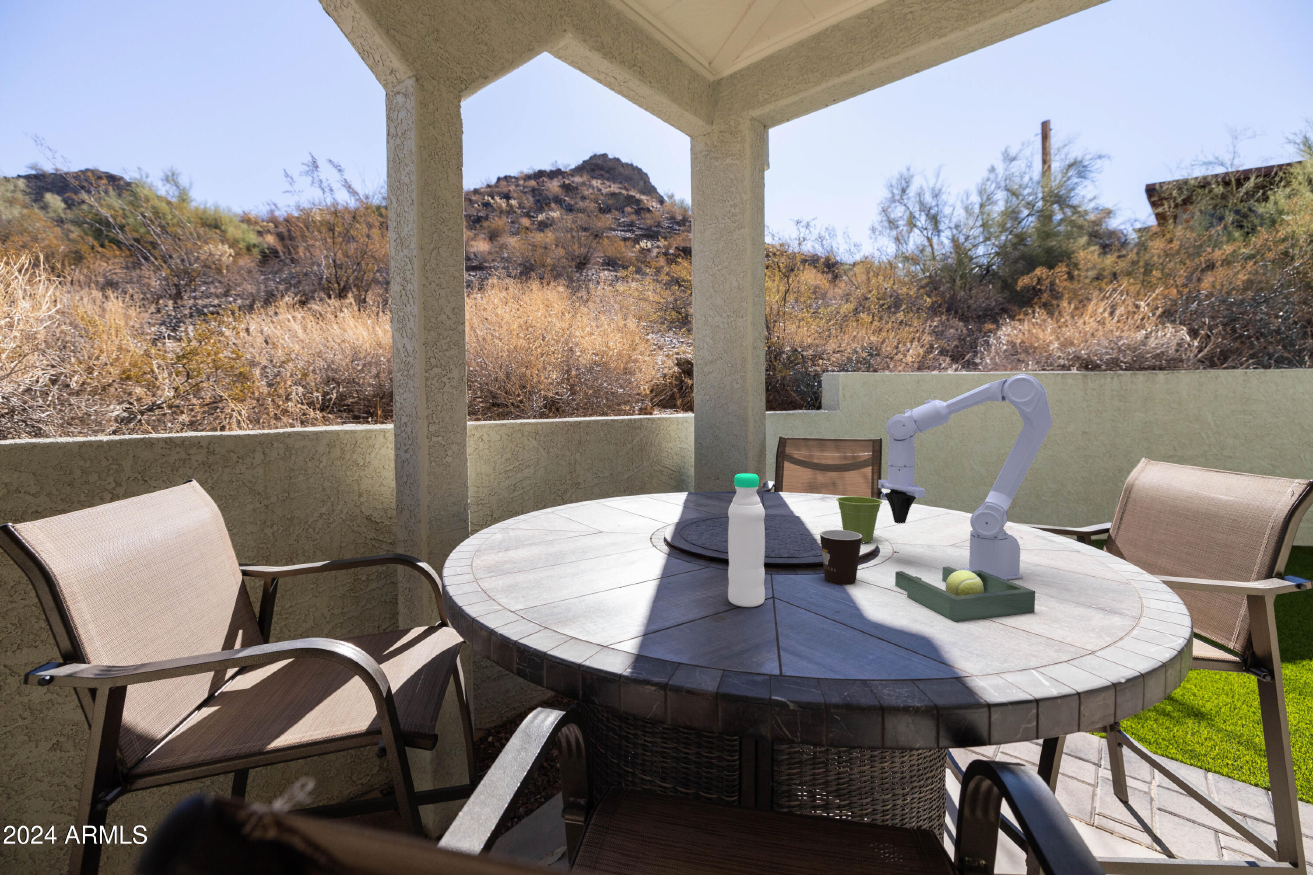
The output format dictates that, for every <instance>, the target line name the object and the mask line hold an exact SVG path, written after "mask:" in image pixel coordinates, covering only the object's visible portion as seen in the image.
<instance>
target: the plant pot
mask: <svg viewBox="0 0 1313 875" xmlns="http://www.w3.org/2000/svg"><path fill="white" fill-rule="evenodd" d="M836 501H837V503H838V509H839V510H840V518H841V526H842V530H846V531H852V532H856V533H859V534H861V535H862V540H861V543H862V544H864V543H863V542H866V543H868V542H870V543H872V542H873V538H874V533H875V528H876V524H877V520H878V519H877V518H878V515H879V512H880V508H881V504H883V500H881V499H880V498H879V499H878V498H874V497H870V496H869V497H866V496H852V495H851V496H850V495H849V496H840V497H836ZM871 541H872V542H871Z"/></svg>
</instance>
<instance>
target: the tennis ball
mask: <svg viewBox="0 0 1313 875" xmlns="http://www.w3.org/2000/svg"><path fill="white" fill-rule="evenodd" d="M958 570H959V571H956V572H954V573H952V574H951V575H950V576H949V577H948V579H947V581H946V582H945V588H944V590H945V591H947V592H949V593H951V594H953V595H956V596H963V595H972V594H981V593H984V586H983V583H982V581H981V579H980V578H979V577H978V576H977V575H976V574H974V573H972V572H970V571H967V570H960V569H958Z"/></svg>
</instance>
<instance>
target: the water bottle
mask: <svg viewBox="0 0 1313 875" xmlns="http://www.w3.org/2000/svg"><path fill="white" fill-rule="evenodd" d="M733 485H734V488H735V490H736V491H735V492H736V493H735V494H734V497H733V498H732V502H731V503H730V505H729V507H728V511H727V512H728V513H727V515H728V528H727V530H728V533H727V548H728V549H727V551H728V555H727V556H728V569H727V570H728V571H727V575H728V588H727V597H728V601H729V602H730V603H731V604H732V605H734V606H737V607H741V608H754V607H759V606H760V605H762V604H764V602H765V599H766V595H765V594H766V590H765V577H766V575H765V573H766V572H765V566H764V565H765V553H766V552H765V551H766V535H765V534H766V532H765V520H764V519H765V518H766V517H765V516H766V510H765V508H764V506H763V504H762V502H761V499H760V497H759V495H758V492H757V491H758V489H759V485H760V477H759V476H758V474H756V473H747V472H746V473H738V474H735V475H734V477H733Z"/></svg>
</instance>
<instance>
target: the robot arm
mask: <svg viewBox="0 0 1313 875" xmlns="http://www.w3.org/2000/svg"><path fill="white" fill-rule="evenodd" d="M1047 393H1048V392H1047V390H1046V389H1045V387H1044V386H1043V385H1042V383H1041V382H1040V381H1039V379H1037V378H1036V377H1034V376H1032V375H1030V374H1023V373H1022V374H1016V375H1013V376H1011V377H1010V378H1002V379H999V380H996V381H992V382H989V383H986V384H983V385H982V386H978V387H977V388H975V389H972V390H970V391H968V392H966V393H963V394H960V395H958V396H956V397H954V398H952V399H950V400H948V401H943V400H940V399H934V400H933V399H927V400H925V401H924V403H925V404H922V405H920V406H917V407H915V408H913V409H910V408H907V409H905V410H904V414H899V413H898V414H895V415H894V416H892V417H891V418H889V419H888V421H887V423H886V426H885V427H886V428H885V429H886V433H887V434H888V452H887V453H888V455H887V458H888V459H887V479H878V486H877V487H878V489H885V490H889V492H885V493H884V497H885V498H886V500H887V502H888V504H889V506H890V509H891V515H892V518H893V521H894V523H895V524H906V521H907V519H908V514H909V513H910V510H911V507H912V505H913V504H914V502H915V500H916V499H917V498H918V499H920V498H926V488H924V487H920V486H918V485H916V484H915V459H916V457H915V456H916V454H915V453H916V451H915V450H916V446H915V436H916V434H917V433H918V434H923V433H924V432H927V431H930V430H932V429H934V428H937V427H940V426H942V425H945V424H947V423H948V422H949V421H950V419H951V416H953V415H954V414H956V413H960V412H962V411H965V410H968V409H970V408H973V407H975V406H978V405H981V404H984V403H986V402H1006V401H1007V402H1008V403H1010V404H1011V406H1013V407H1014V408H1015V409H1016V410H1017V412H1018V414H1019V415H1020V418H1021V419H1022V421H1023V426H1022V428H1021V430H1020V432H1019V434H1018V437H1017V438H1016V440H1015V442H1014V445H1012V447H1011V450H1010V451H1009V453H1008V455H1007V457H1006V459H1005V461H1004V464H1003V466H1002V468H1001V469H1000V471H999V473H998V476H997V477H996V480H995V481H994V483H993V486H992V487H991V489H990V491H989V493H988V495H987V496H986V498H985V500H984V502H983V503H981V504H980V505H979V506H978V507H977V509H976V510H975V511H974V512H973V513H972V514H971V517H970V518H969V519H970V520H969V522H970V527H971V529H972V530H970V532H969V560H968V561H969V564H968V567H965V568H964V567H962V568H960V569H959V570H967V571H970V572H972V571H975V570H981V571H984V572H987V573H989V574H992V575H995V576H997V577H1000V578H1002V579H1005V580H1015V579H1023V574H1020V567H1021V566H1020V565H1021V546H1020V543H1019V541H1018V539H1017V538H1016V537H1015V536H1013V535H1012V534H1009V533H1008V532H1007V530H1006V529H1005V526H1006V524H1008V519H1009V514H1008V513H1009V508H1010V506H1011V505H1012V502H1013V500H1014V498H1015V496H1016V494H1017V492H1018V490H1019V489H1020V486H1021V484H1022V483H1023V481H1024V479H1025V477H1026V475H1027V474H1028V471H1029V469H1030V467H1031V466H1032V464H1033V462H1034V460H1035V458H1036V457H1037V454H1038V452H1039V450H1040V449H1041V446H1042V444H1043V443H1044V441H1045V438H1047V435H1048V432H1049V431H1050V429H1051V427H1052V425H1053V422H1054V420H1053V415H1052V411H1051V407H1050V402H1049V397H1048V394H1047Z"/></svg>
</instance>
